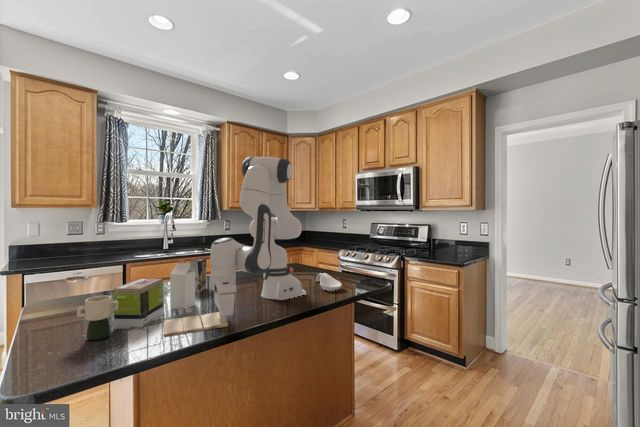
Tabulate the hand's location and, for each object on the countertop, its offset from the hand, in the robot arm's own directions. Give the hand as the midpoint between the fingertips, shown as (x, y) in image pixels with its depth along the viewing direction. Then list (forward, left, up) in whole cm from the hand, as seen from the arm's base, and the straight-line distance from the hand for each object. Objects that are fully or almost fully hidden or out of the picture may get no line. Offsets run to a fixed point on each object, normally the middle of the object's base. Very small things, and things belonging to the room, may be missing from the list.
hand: (222, 321), depth 109 cm
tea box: (+27, -18, -2) cm, 33 cm away
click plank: (+3, -4, -2) cm, 5 cm away
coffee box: (+4, -57, -2) cm, 57 cm away
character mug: (+38, -7, -2) cm, 39 cm away
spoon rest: (-60, -34, -2) cm, 69 cm away
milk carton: (+12, -30, -2) cm, 33 cm away
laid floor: (+13, -4, -2) cm, 14 cm away
